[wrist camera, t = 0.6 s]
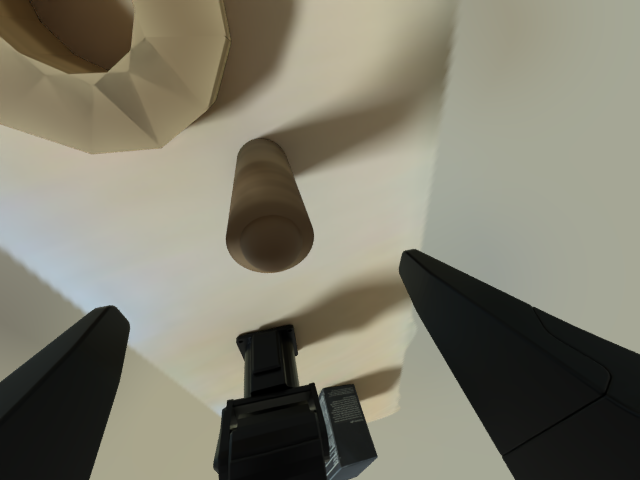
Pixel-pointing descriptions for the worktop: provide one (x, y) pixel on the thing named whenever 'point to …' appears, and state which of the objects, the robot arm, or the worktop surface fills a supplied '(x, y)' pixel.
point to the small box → (346, 433)
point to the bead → (113, 77)
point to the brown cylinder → (267, 211)
